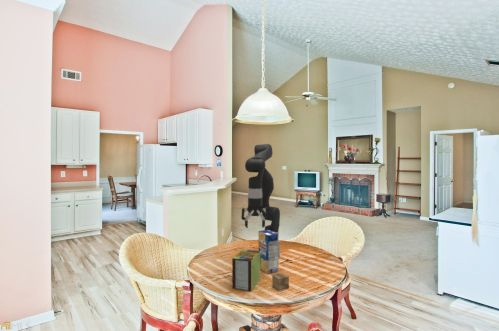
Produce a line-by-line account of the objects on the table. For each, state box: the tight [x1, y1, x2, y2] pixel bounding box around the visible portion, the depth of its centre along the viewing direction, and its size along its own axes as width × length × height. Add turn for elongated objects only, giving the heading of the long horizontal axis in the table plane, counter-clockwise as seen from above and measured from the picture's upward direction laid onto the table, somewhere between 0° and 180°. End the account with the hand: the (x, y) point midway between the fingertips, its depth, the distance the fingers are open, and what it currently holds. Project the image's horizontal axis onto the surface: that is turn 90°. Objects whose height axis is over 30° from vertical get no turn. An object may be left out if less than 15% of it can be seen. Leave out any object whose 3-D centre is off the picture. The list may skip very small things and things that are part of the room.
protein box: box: [231, 248, 261, 292], centre depth 147 cm, size 10×15×16 cm
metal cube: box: [271, 271, 290, 292], centre depth 143 cm, size 6×6×6 cm
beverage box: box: [257, 229, 279, 275], centre depth 165 cm, size 7×11×22 cm, turn 29°
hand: (254, 227), depth 149 cm, fingers open, 8 cm apart
